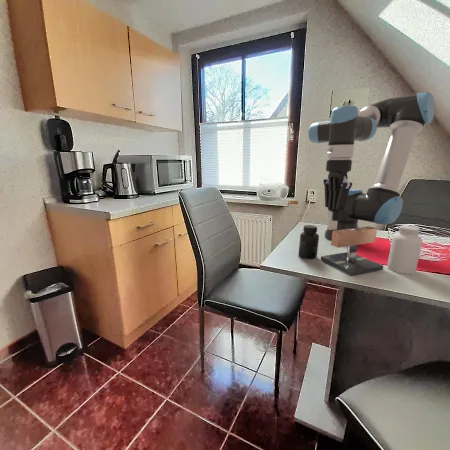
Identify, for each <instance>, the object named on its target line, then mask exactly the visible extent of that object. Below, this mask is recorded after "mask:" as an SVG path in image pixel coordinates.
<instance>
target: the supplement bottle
mask: <svg viewBox="0 0 450 450" xmlns="http://www.w3.org/2000/svg"><path fill="white" fill-rule="evenodd" d="M302 231H303V232H301V233H300V235H299V246H298V256H299V258H302V259H304V260H315V259H317V257H318V251H319V250H318V249H319V239H320V235H319V234H318V233H317V232H318V226H316V225H312V224H306V225H305V224H304V225H303V229H302Z"/></svg>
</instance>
